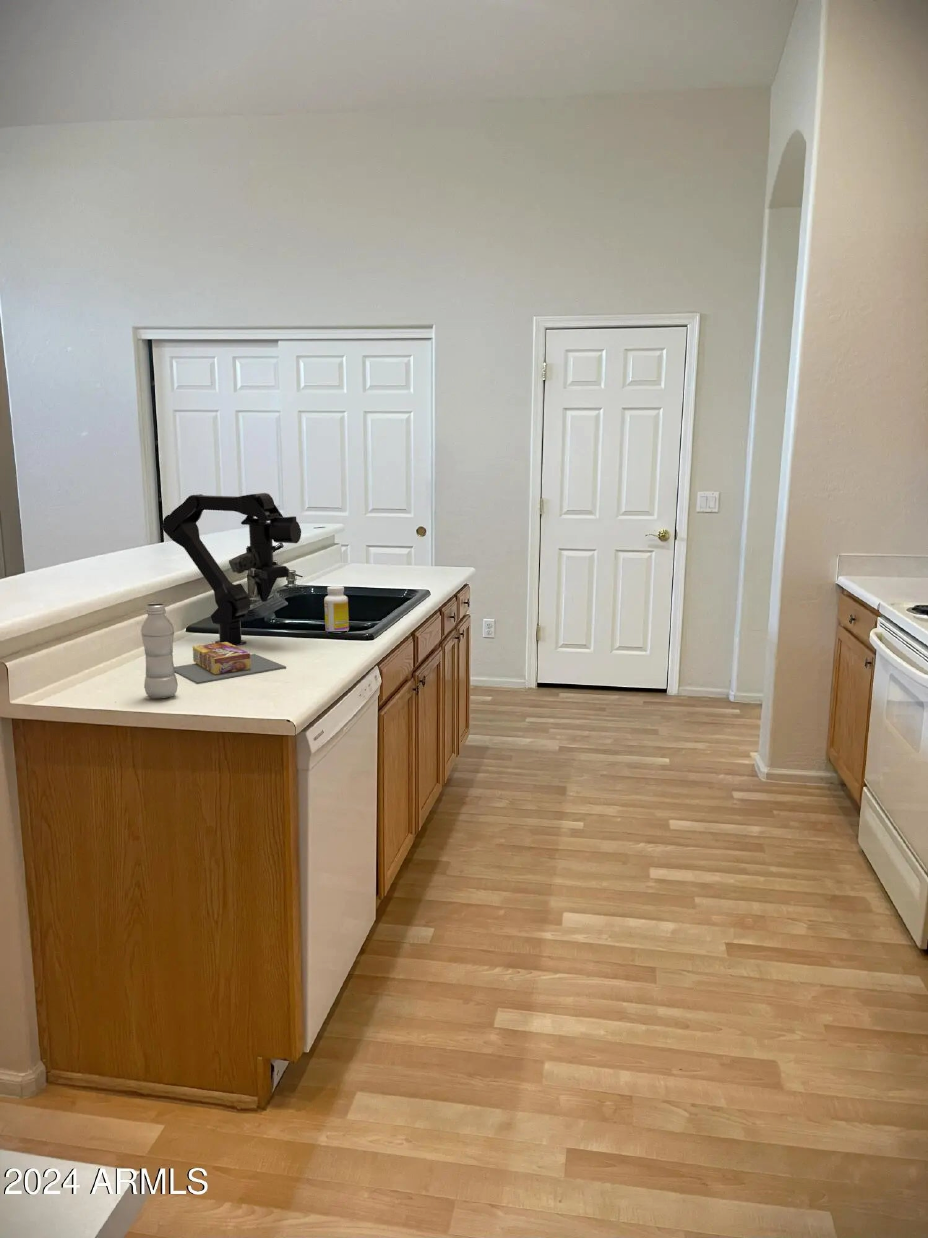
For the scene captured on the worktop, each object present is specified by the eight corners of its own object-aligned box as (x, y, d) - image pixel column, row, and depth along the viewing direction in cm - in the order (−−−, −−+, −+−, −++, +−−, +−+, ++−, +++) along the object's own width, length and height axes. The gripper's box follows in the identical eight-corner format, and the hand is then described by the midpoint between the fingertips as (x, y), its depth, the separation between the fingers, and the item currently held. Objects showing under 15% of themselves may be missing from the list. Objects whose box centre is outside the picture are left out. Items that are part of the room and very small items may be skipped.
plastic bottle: (149, 693, 189) (142, 602, 185) (181, 692, 190) (175, 601, 186) (141, 702, 183) (133, 607, 179) (174, 701, 183) (168, 607, 180)
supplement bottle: (353, 630, 253) (352, 586, 250) (340, 634, 247) (339, 589, 244) (333, 628, 255) (332, 584, 253) (320, 632, 249) (319, 588, 247)
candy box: (193, 663, 214) (214, 675, 202) (191, 646, 214) (213, 657, 201) (228, 658, 219) (251, 669, 207) (227, 641, 219) (250, 651, 206)
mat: (169, 669, 210) (169, 667, 210) (254, 655, 223) (254, 653, 223) (197, 684, 197) (197, 682, 197) (286, 668, 210) (286, 666, 210)
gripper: (216, 541, 230) (220, 600, 233) (248, 547, 216) (251, 610, 219) (256, 538, 237) (259, 595, 240) (289, 544, 223) (291, 605, 226)
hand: (264, 601), depth 231 cm, fingers closed
